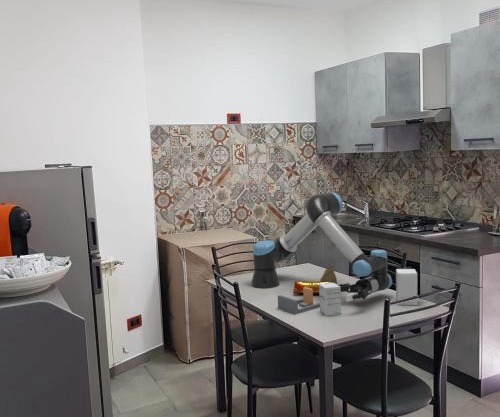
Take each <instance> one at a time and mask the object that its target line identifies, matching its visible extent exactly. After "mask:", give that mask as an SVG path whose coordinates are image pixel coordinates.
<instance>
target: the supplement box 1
mask: <svg viewBox="0 0 500 417" xmlns="http://www.w3.org/2000/svg"><path fill="white" fill-rule="evenodd" d="M318 284H319V283H318ZM338 285H339V284H338V283H337V284H335V283H325V284H319V285H318V289H319V290H318V294H319V298H318V299H319V303H320V307H319V312H321V313H322V314H323V315H325V317H326V316H338V315H341V314H342V309H341V308H342V306H341V305H342V304H341V303H342V302H341V299H342V298H341V296H342V295H341V293H342V292H341V291H340V286H338Z"/></svg>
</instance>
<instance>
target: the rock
mask: <svg viewBox="0 0 500 417" xmlns="http://www.w3.org/2000/svg"><path fill="white" fill-rule="evenodd" d="M320 282H333V283H335V284H337V285H338V280H337V276H336V273H335V272H334V270H333V268H332V267H331V266H329V265H328V266H327V267H326V268H325V270H324V272H323V275H322V276H321V278H320V280H319V283H320Z"/></svg>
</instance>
